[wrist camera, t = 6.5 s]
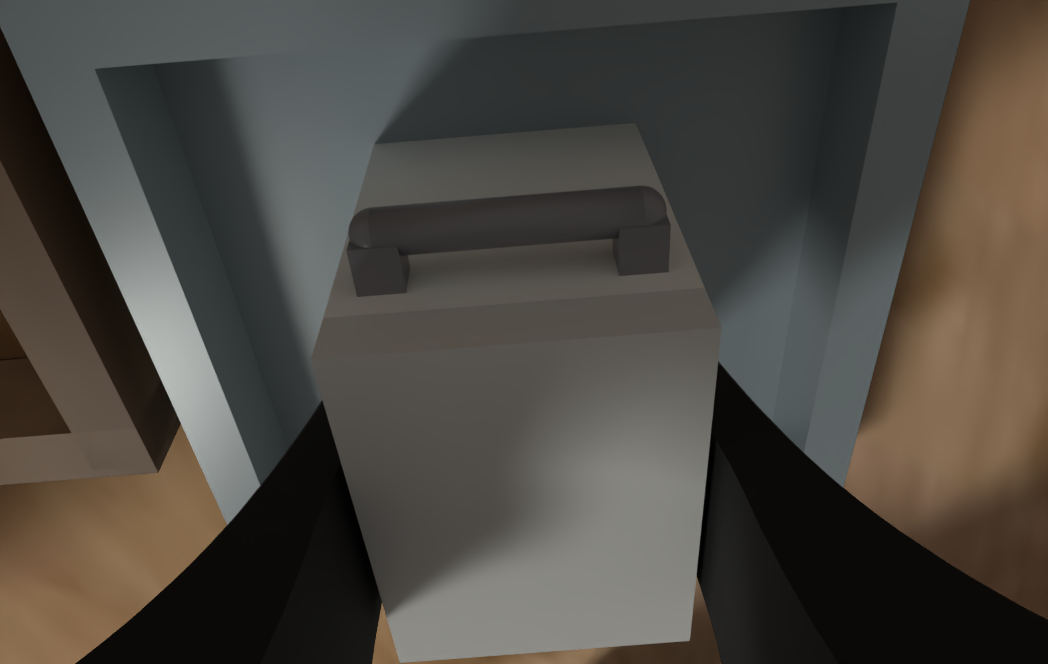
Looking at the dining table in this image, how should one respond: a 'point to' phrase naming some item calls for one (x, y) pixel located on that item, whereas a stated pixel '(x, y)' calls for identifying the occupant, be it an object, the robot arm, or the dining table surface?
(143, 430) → the walnut bay
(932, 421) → the dining table surface
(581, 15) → the slate tray
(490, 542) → the box
